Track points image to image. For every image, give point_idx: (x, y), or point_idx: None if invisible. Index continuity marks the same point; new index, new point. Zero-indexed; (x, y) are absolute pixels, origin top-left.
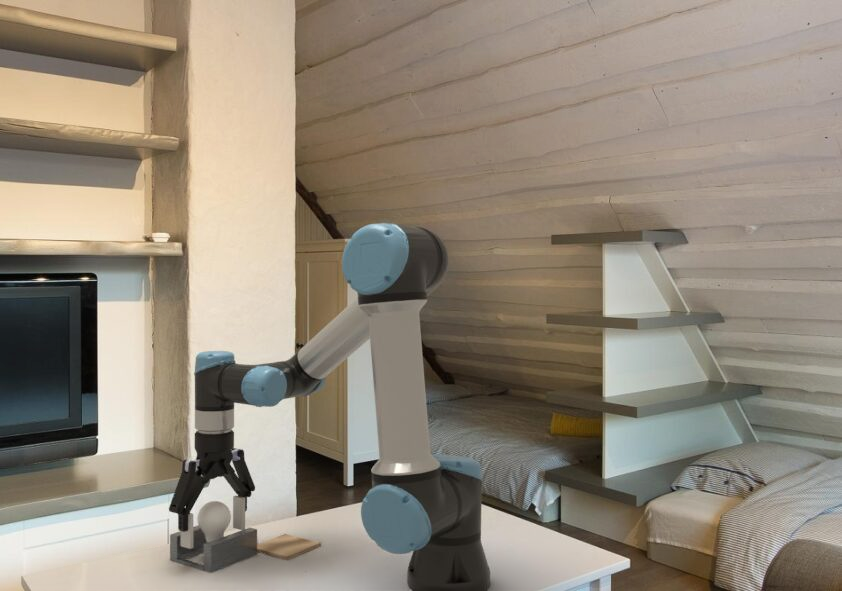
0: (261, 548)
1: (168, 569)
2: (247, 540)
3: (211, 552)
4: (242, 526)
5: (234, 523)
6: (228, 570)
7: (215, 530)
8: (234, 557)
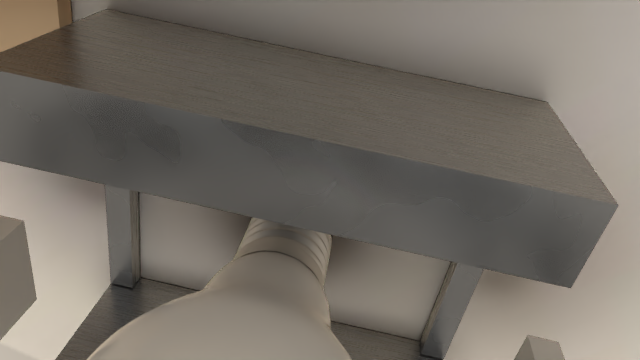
0: (36, 15)
1: (553, 335)
2: (143, 69)
3: (590, 169)
4: (1, 238)
5: (11, 313)
6: (469, 10)
7: (332, 336)
8: (322, 67)
